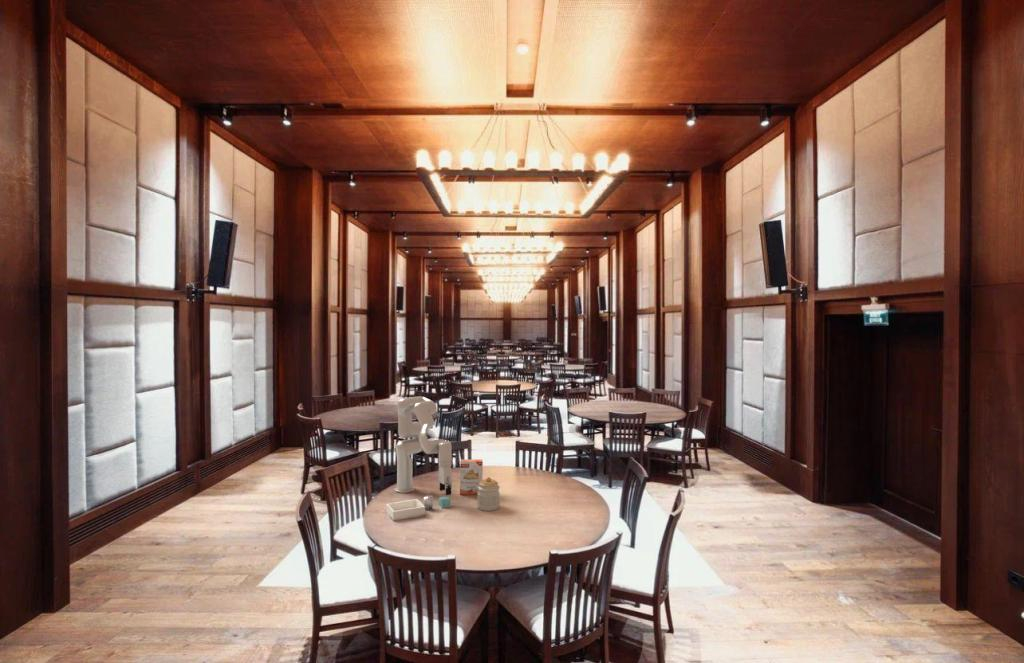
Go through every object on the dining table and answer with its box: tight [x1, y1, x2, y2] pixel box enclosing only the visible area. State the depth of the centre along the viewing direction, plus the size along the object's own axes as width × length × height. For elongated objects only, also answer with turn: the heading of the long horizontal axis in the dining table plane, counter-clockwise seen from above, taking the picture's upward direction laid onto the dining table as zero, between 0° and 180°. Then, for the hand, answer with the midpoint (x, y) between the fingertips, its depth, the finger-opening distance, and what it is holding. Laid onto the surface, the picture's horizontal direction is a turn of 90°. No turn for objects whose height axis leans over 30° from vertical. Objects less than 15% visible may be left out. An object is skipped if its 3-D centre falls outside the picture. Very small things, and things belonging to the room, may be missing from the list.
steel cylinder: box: [423, 495, 434, 512], centre depth 305 cm, size 5×5×7 cm
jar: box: [476, 476, 501, 512], centre depth 309 cm, size 13×13×18 cm
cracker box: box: [459, 458, 484, 496], centre depth 333 cm, size 14×6×21 cm, turn 96°
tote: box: [385, 498, 426, 522], centre depth 297 cm, size 14×18×5 cm
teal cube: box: [438, 495, 451, 509], centre depth 310 cm, size 5×5×5 cm
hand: (445, 492), depth 309 cm, fingers open, 9 cm apart
